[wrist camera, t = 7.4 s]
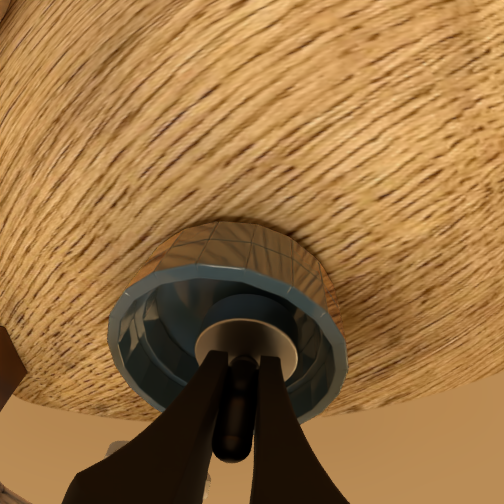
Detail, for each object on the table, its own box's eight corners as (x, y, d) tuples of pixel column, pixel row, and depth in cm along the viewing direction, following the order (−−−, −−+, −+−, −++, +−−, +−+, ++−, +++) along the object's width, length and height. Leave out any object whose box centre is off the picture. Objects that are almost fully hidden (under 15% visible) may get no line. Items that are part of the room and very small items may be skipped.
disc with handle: (291, 368, 14) (288, 488, 8) (204, 359, 14) (171, 473, 9) (304, 297, 12) (311, 435, 7) (201, 287, 12) (149, 414, 7)
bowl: (316, 380, 16) (319, 441, 13) (156, 361, 17) (133, 416, 13) (352, 226, 12) (378, 278, 9) (133, 209, 13) (84, 252, 9)
